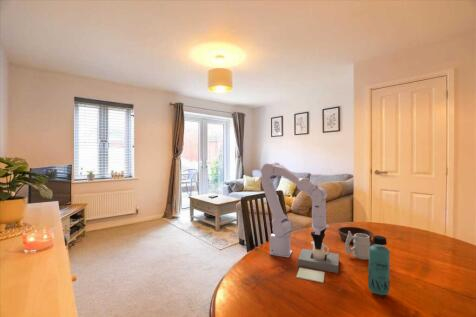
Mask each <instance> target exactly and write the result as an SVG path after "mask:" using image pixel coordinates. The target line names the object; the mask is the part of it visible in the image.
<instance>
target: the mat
mask: <svg viewBox="0 0 476 317" xmlns="http://www.w3.org/2000/svg"><path fill="white" fill-rule="evenodd" d="M325 275H326V271H323V270H317V269H312V268H306V267H299V268H298V271H297V274H296V276H295V277H296V278H297V279H302V280H306V281H312V282H317V283H322V284H324V282H325Z"/></svg>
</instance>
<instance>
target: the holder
mask: <svg viewBox="0 0 476 317" xmlns="http://www.w3.org/2000/svg"><path fill="white" fill-rule="evenodd" d="M325 252H326V253H327V251H325ZM339 254H340V253H334V252H329V255H325V261H324V260H318V259H313V249H307V248H301V250H300V253H299V256H298V258H297V267H300V268H306V269H311V270H317V271H323V272H329V273H330V272H331V273H336V274H339V265H340V264H339V260H340V259H339V257H340V256H339Z"/></svg>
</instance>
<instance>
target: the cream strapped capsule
mask: <svg viewBox="0 0 476 317" xmlns="http://www.w3.org/2000/svg"><path fill="white" fill-rule="evenodd" d="M310 245H311V246H312V250H313V259H318V260H324V261H325V255H329V253H330V245H328V244H326V243H325V242H324V241H323V242H322V246H321V250H318V249H315V245H314V241H311V242H310ZM326 250H327V251H326ZM326 252H327V253H326Z"/></svg>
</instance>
